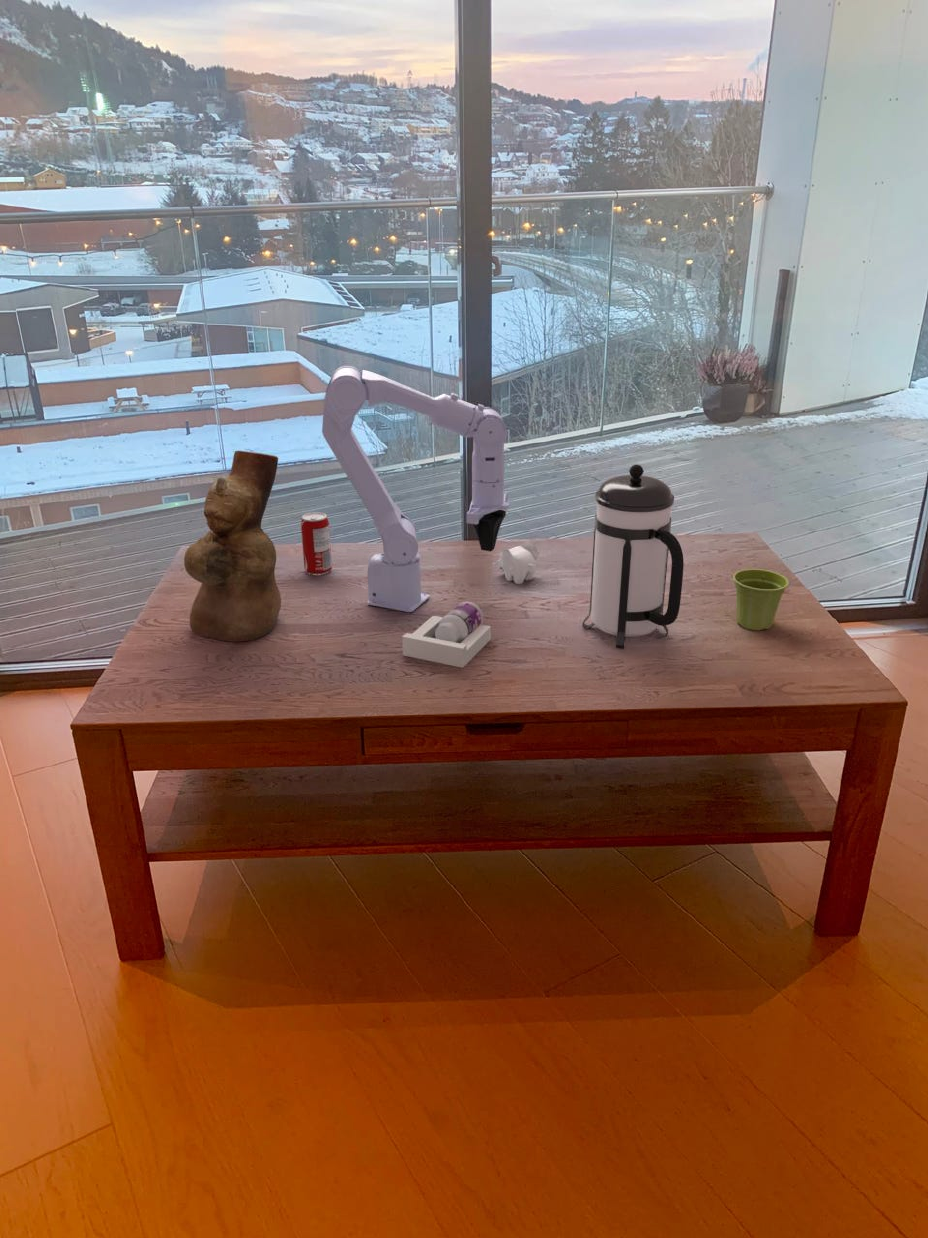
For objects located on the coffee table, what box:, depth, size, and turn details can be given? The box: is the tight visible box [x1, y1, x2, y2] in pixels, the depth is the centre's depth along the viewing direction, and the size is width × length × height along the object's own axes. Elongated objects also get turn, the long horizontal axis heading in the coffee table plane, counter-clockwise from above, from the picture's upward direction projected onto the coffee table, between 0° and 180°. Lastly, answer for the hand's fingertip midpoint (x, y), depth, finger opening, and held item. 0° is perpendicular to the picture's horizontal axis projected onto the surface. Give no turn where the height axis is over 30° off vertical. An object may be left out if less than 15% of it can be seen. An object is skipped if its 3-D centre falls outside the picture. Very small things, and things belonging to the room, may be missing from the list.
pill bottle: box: [435, 601, 484, 643], centre depth 161 cm, size 5×5×10 cm
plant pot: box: [732, 568, 790, 631], centre depth 167 cm, size 9×9×9 cm
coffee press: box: [582, 464, 685, 650], centre depth 159 cm, size 17×16×30 cm
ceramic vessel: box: [183, 450, 282, 643], centre depth 165 cm, size 16×22×30 cm
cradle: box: [401, 615, 492, 669], centre depth 160 cm, size 11×12×4 cm
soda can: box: [300, 511, 333, 576], centre depth 190 cm, size 6×6×12 cm
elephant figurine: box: [492, 540, 540, 585], centre depth 187 cm, size 8×10×7 cm
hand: (487, 549), depth 175 cm, fingers closed
